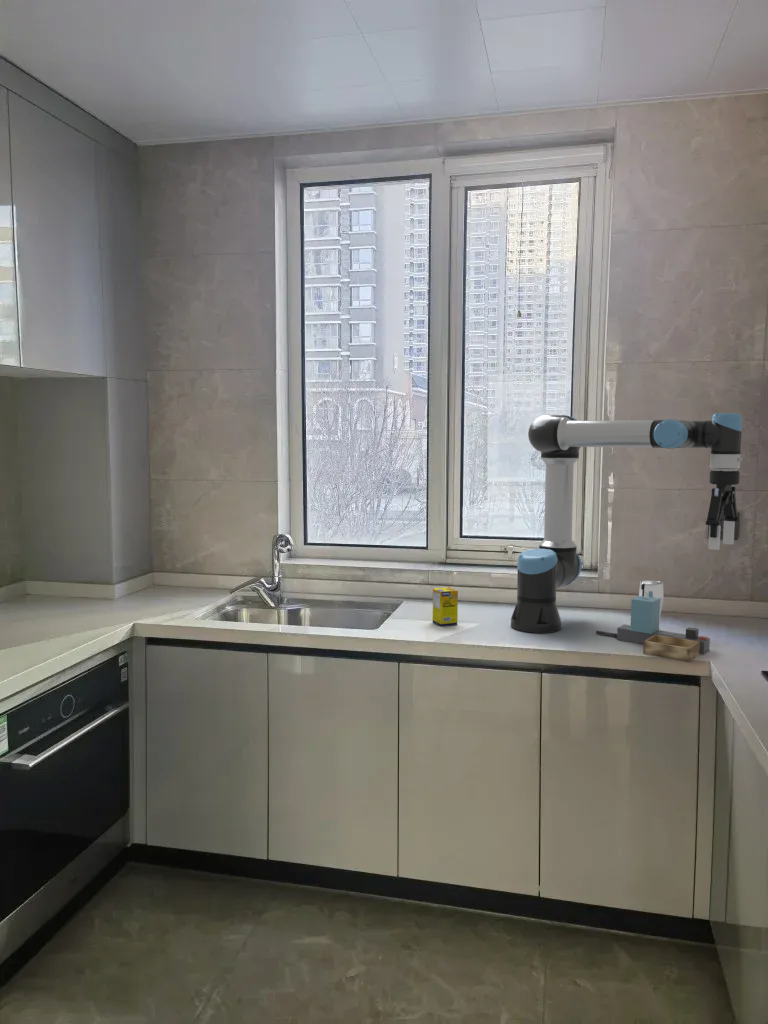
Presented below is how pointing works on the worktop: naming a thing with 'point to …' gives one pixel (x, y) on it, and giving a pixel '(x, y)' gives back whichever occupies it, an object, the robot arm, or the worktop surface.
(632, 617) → the block
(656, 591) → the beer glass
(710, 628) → the worktop surface
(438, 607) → the supplement box
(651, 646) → the tray
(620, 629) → the power strip
